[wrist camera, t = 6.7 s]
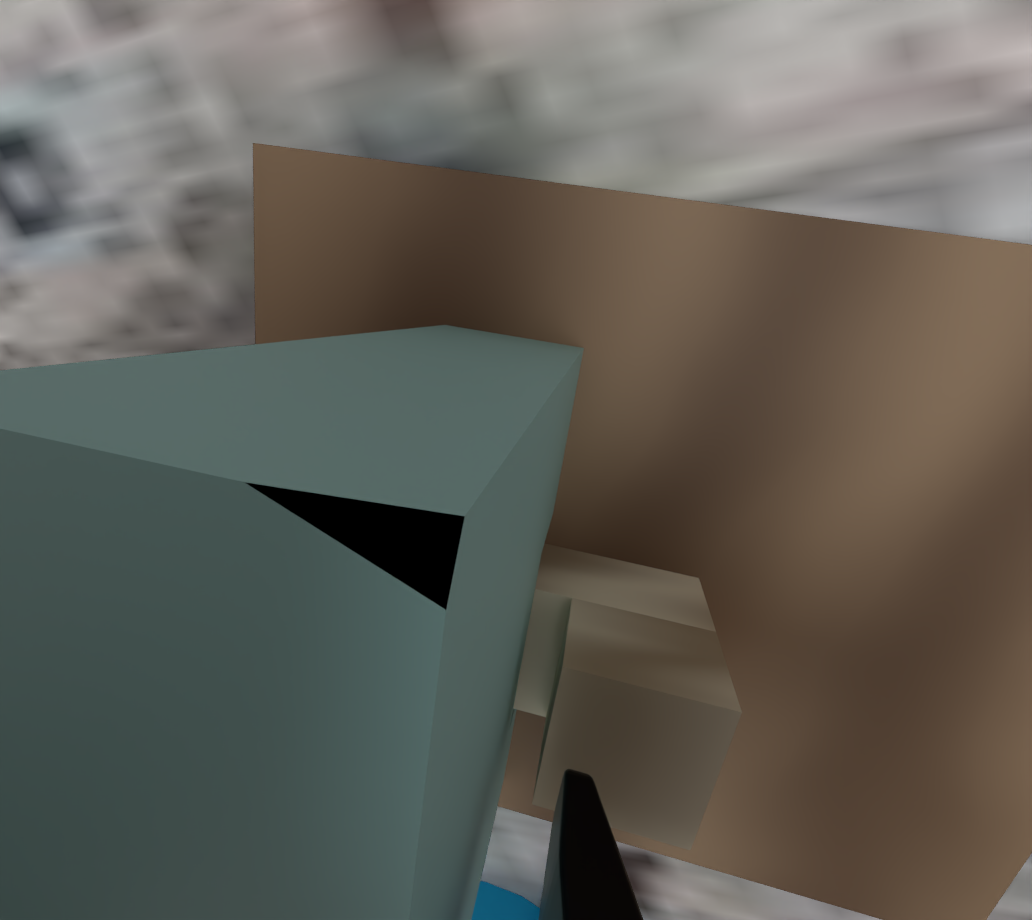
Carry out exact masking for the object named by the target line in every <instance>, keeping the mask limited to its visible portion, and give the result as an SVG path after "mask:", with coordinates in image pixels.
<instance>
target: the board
mask: <svg viewBox="0 0 1032 920" xmlns="http://www.w3.org/2000/svg"><path fill="white" fill-rule="evenodd" d="M253 184H254V269H255V344H264V343H273V342H283V341H293V340H303V339H312V338H322V337H332V336H342V335H351V334H361V333H371V332H381V331H390V330H400V329H410V328H420V327H429V326H439V325H449V326H455V327H461V328H467V329H473V330H479V331H485V332H491V333H497V334H503V335H509V336H515V337H521V338H527V339H533V340H539V341H545V342H551V343H557V344H563V345H569V346H575V347H581V348H584V350H583V355H582V361H581V366H580V371H579V377H578V382H577V387H576V393H575V398H574V404H573V409H572V414H571V420H570V425H569V431H568V436H567V441H566V447H565V452H564V457H563V463H562V468H561V474H560V479H559V484H558V490H557V495H556V500H555V506H554V511H553V515H552V519H551V522H550V526H549V529H548V533H547V536H546V540H545V544H549V545H554V546H558V547H563V548H567V549H572V550H576V551H580V552H585V553H589V554H594V555H598V556H603V557H607V558H612V559H616V560H621V561H625V562H630V563H634V564H639V565H643V566H647V567H652V568H656V569H661V570H665V571H670V572H674V573H679V574H683V575H688V576H692V577H697V578H699V580H700V583H701V586H702V589H703V592H704V596H705V599H706V602H707V605H708V608H709V611H710V614H711V617H712V620H713V624H714V627H715V630H716V633H717V636H718V639H719V642H720V645H721V649H722V652H723V655H724V658H725V661H726V664H727V667H728V670H729V674H730V677H731V680H732V683H733V686H734V689H735V692H736V695H737V699H738V702H739V705H740V708H741V711H742V713H741V716H740V719H739V721H738V724H737V727H736V729H735V732H734V735H733V738H732V740H731V743H730V746H729V748H728V751H727V754H726V756H725V759H724V762H723V764H722V767H721V770H720V772H719V775H718V778H717V780H716V783H715V786H714V788H713V791H712V794H711V796H710V799H709V802H708V805H707V807H706V810H705V813H704V815H703V818H702V821H701V823H700V826H699V829H698V831H697V834H696V837H695V839H694V842H693V845H692V847H691V850H687V849H684V848H680V847H677V846H673V845H670V844H666V843H663V842H660V841H656V840H653V839H649V838H646V837H642V836H639V835H636V834H632V833H629V832H625V831H622V830H618V829H615V828H612V827H611V830H612V833H613V836H614V839H615V841H618V842H621V843H625V844H628V845H631V846H635V847H638V848H642V849H645V850H648V851H652V852H655V853H659V854H662V855H665V856H669V857H672V858H676V859H679V860H682V861H686V862H689V863H692V864H696V865H699V866H703V867H706V868H709V869H713V870H716V871H720V872H723V873H726V874H730V875H733V876H737V877H740V878H743V879H747V880H750V881H754V882H757V883H760V884H764V885H767V886H771V887H774V888H777V889H781V890H784V891H787V892H791V893H794V894H798V895H801V896H804V897H808V898H811V899H815V900H818V901H821V902H825V903H828V904H832V905H835V906H838V907H842V908H845V909H849V910H852V911H855V912H859V913H862V914H866V915H869V916H872V917H876V918H879V919H882V920H986V919H987V918H988V916H989V915H990V913H991V912H992V910H993V909H994V907H995V906H996V904H997V903H998V901H999V900H1000V899H1001V897H1002V896H1003V894H1004V893H1005V891H1006V890H1007V888H1008V887H1009V885H1010V884H1011V882H1012V881H1013V879H1014V878H1015V877H1016V875H1017V874H1018V872H1019V871H1020V869H1021V868H1022V866H1023V865H1024V863H1025V862H1026V860H1027V859H1028V857H1029V856H1030V854H1031V853H1032V245H1028V244H1020V243H1013V242H1005V241H998V240H990V239H982V238H975V237H967V236H959V235H952V234H944V233H936V232H929V231H921V230H913V229H906V228H898V227H891V226H883V225H875V224H868V223H860V222H852V221H845V220H837V219H829V218H822V217H814V216H806V215H799V214H791V213H784V212H776V211H768V210H761V209H753V208H745V207H738V206H730V205H722V204H715V203H707V202H700V201H692V200H684V199H677V198H669V197H661V196H654V195H646V194H638V193H631V192H623V191H615V190H608V189H600V188H593V187H585V186H577V185H570V184H562V183H554V182H547V181H539V180H531V179H524V178H516V177H508V176H501V175H493V174H486V173H478V172H470V171H463V170H455V169H447V168H440V167H432V166H424V165H417V164H409V163H401V162H394V161H386V160H379V159H371V158H363V157H356V156H348V155H340V154H333V153H325V152H317V151H310V150H302V149H295V148H287V147H279V146H272V145H264V144H256V143H253ZM545 721H546V717H543V716H539V715H536V714H532V713H528V712H524V711H521V710H516V716H515V721H514V726H513V732H512V737H511V743H510V748H509V753H508V759H507V764H506V769H505V775H504V780H503V784H502V789H501V793H500V797H499V802H498V806H499V807H503V808H506V809H509V810H513V811H516V812H519V813H523V814H526V815H530V816H533V817H536V818H540V819H543V820H547V821H550V822H553V816H554V811H553V810H550V809H546V808H543V807H540V806H536V805H533V804H532V801H533V795H534V789H535V783H536V776H537V770H538V764H539V758H540V752H541V746H542V739H543V733H544V727H545Z"/></svg>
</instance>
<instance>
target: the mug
mask: <svg viewBox="0 0 1032 920" xmlns="http://www.w3.org/2000/svg"><path fill="white" fill-rule="evenodd" d="M539 913H540V908H539V907H537V906H536V905H534V904H533V903H531V902H530V901H528V900H527V899H525V898H524V897H522V896H520V895H517V894H515V893H512V892H510V891H507V890H505V889H502V888H499V887H497V886H494V885H492V884H489V883H487V882H483V881H480V884H479V888H478V893H477V897H476V902H475V906H474V910H473V915H472V919H471V920H538V919H539Z"/></svg>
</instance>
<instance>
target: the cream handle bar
mask: <svg viewBox="0 0 1032 920" xmlns="http://www.w3.org/2000/svg"><path fill="white" fill-rule="evenodd" d="M453 573H454V570H452V569H448V568H444V567H440V566H435V565H431V564H427V563H423V562H418V561H414V560H410V559H406V558H401V557H397V556H393V555H392V559H391V572H390V575H392V576H393V577H395V578H396V579H398V580H400V581H401V582H403V583H404V584H406V585H407V586H409V587H411V588H412V589H414V590H415V591H417V592H418V593H420V594H422V595H423V596H425V597H426V598H428V599H430V600H431V601H433V602H434V603H436V604H437V605H439V606H441V607H442V608H444V609H445V610H446V608H447V603H448V598H449V593H450V588H451V583H452V578H453ZM513 709H517V710H521V711H524V712H528V713H532V714H536V715H539V716H543V717H546V721H545V727H544V733H543V739H542V746H541V752H540V758H539V764H538V770H537V776H536V783H535V789H534V795H533V801H532V804H533V805H536V806H540V807H543V808H546V809H550V810H553V811H555V806H556V802H557V798H558V794H559V790H560V786H561V782H562V777H563V774H564V771H565V770H567V769H572V770H576V771H579V772H583V773H587V774H589V775H590V776H591V777H592V778H593V780H594V782H595V785H596V788H597V791H598V793H599V796H600V799H601V802H602V805H603V808H604V810H605V813H606V816H607V819H608V822H609V824H610V827H612V828H615V829H618V830H622V831H625V832H629V833H632V834H636V835H639V836H642V837H646V838H649V839H653V840H656V841H660V842H663V843H666V844H670V845H673V846H677V847H680V848H684V849H687V850H691V847H692V845H693V842H694V839H695V837H696V834H697V831H698V829H699V826H700V823H701V821H702V818H703V815H704V813H705V810H706V807H707V805H708V802H709V799H710V796H711V794H712V791H713V788H714V786H715V783H716V780H717V778H718V775H719V772H720V770H721V767H722V764H723V762H724V759H725V756H726V754H727V751H728V748H729V746H730V743H731V740H732V738H733V735H734V732H735V729H736V727H737V724H738V721H739V719H740V716H741V713H742V711H741V708H740V705H739V702H738V699H737V695H736V692H735V689H734V686H733V683H732V680H731V677H730V674H729V670H728V667H727V664H726V661H725V658H724V655H723V652H722V649H721V645H720V642H719V639H718V636H717V633H716V630H715V627H714V624H713V620H712V617H711V614H710V611H709V608H708V605H707V602H706V599H705V596H704V592H703V589H702V586H701V583H700V580H699V578H697V577H692V576H688V575H683V574H679V573H674V572H670V571H665V570H661V569H656V568H652V567H647V566H643V565H639V564H634V563H630V562H625V561H621V560H616V559H612V558H607V557H603V556H598V555H594V554H589V553H585V552H580V551H576V550H572V549H567V548H563V547H558V546H554V545H549V544H545V543H544V546H543V550H542V554H541V559H540V565H539V570H538V576H537V581H536V587H535V592H534V597H533V603H532V608H531V614H530V619H529V625H528V630H527V636H526V641H525V647H524V652H523V658H522V663H521V669H520V674H519V679H518V685H517V690H516V696H515V701H514V707H513Z"/></svg>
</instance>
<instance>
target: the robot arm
mask: <svg viewBox="0 0 1032 920" xmlns="http://www.w3.org/2000/svg"><path fill="white" fill-rule="evenodd" d="M538 920H643V917H642V915H641V912H640V909H639V906H638V903H637V901H636V898H635V895H634V892H633V889H632V886H631V884H630V881H629V878H628V875H627V872H626V870H625V867H624V864H623V861H622V858H621V855H620V853H619V850H618V847H617V844H616V841H615V839H614V836H613V833H612V830H611V827H610V824H609V822H608V819H607V816H606V813H605V810H604V808H603V805H602V802H601V799H600V796H599V793H598V791H597V788H596V785H595V782H594V780H593V778H592V777H591V776H590V775H589V774H587V773H583V772H579V771H576V770H572V769H567V770H565V771H564V774H563V777H562V782H561V786H560V790H559V794H558V798H557V802H556V806H555V811H554V816H553V823H552V829H551V836H550V843H549V850H548V857H547V864H546V871H545V878H544V885H543V892H542V899H541V906H540V913H539V919H538Z"/></svg>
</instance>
